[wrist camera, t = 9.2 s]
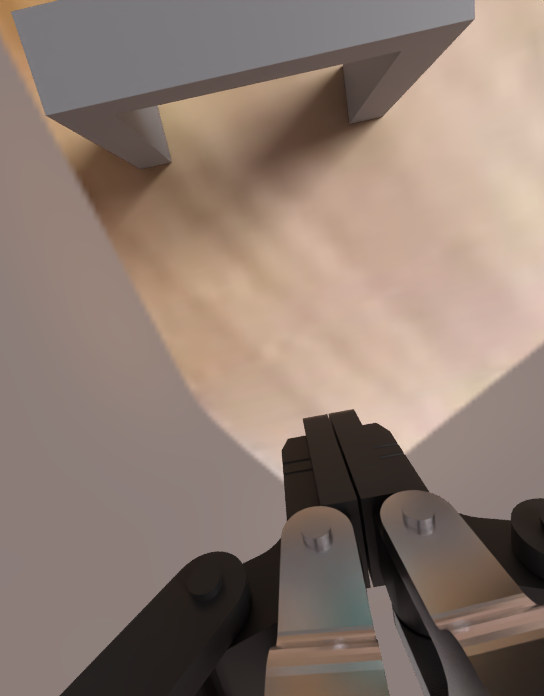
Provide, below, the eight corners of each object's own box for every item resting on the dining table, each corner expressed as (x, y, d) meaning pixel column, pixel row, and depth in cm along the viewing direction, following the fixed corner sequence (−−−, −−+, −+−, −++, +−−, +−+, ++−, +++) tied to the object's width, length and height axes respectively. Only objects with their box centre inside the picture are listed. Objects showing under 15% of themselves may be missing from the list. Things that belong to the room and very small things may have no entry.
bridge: (382, 116, 21) (474, 18, 12) (140, 169, 22) (45, 115, 12) (377, 57, 20) (472, -99, 11) (124, 114, 21) (10, 11, 11)
